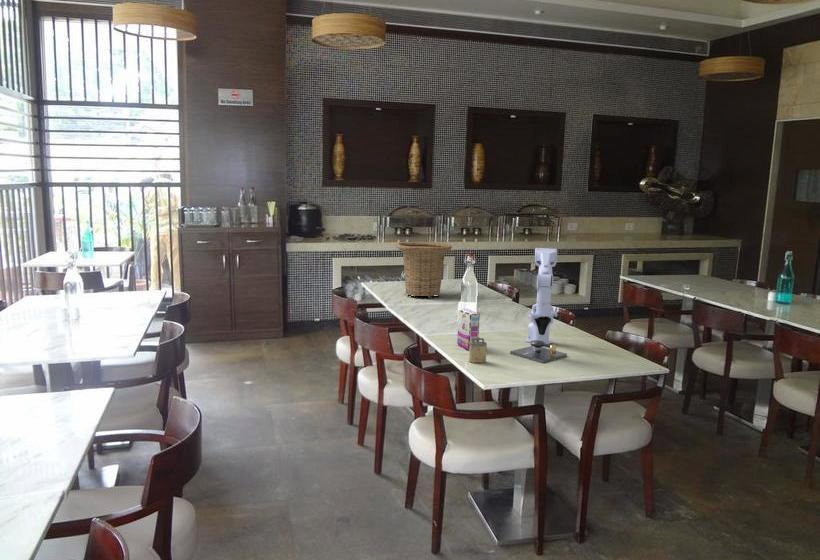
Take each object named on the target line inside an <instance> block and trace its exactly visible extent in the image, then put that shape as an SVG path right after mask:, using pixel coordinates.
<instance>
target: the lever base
mask: <svg viewBox="0 0 820 560" xmlns="http://www.w3.org/2000/svg"><path fill="white" fill-rule="evenodd" d="M509 352H510V353H509V354H510V355H512V354H513V355H512V356H516V355H517V356H516V357H519V356H520V358H524V359H526V358H527V359H526V360H531V361H534V362H538V363H541V364H544V363H547V362H551V361H555V359H556V360H558V359H562V358H565V357H566V358H567V357H568V354H567V353H566V352H562V351H560V350H559V351H558V350H556V354H550V348H548V347H534V346H531V345H530V346H526V347H522V348H518V349H513V350H510V351H509Z"/></svg>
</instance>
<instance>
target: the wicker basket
mask: <svg viewBox="0 0 820 560" xmlns="http://www.w3.org/2000/svg"><path fill="white" fill-rule="evenodd" d="M452 248H453V246H452V245H451V244H448V243H443V242H431V241H429V242H427V241H405V242H404V241H403V242H398V243H397V244H396V249H398V250H400V251H401V253H402V257H403V267H404V268H403V269H404V281H405V282H404V283H405V284H404V285H405V295H406V294H408V295H414V297H415V296H434V295H438V294H439V293H440V292H441V286H442V279H443V269H444V263H445V262H444V261H445V256H446V254H447V252H449V251H451V250H452ZM439 295H440V294H439Z"/></svg>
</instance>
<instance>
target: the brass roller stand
mask: <svg viewBox="0 0 820 560" xmlns="http://www.w3.org/2000/svg"><path fill="white" fill-rule="evenodd" d="M530 346H534V347H544V348H547V349H550V354H556V351H557V345H556V344H545V342H544V341H539V340H533V341H531V342H530Z"/></svg>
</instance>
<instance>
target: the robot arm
mask: <svg viewBox="0 0 820 560" xmlns="http://www.w3.org/2000/svg"><path fill="white" fill-rule="evenodd" d="M557 262H558V249H557V248H547V247H543V248H542V247H536V248H535V249H534V264H535V266H536V267H538V274H537V276H536V292H537V293H536V303H535V304H533V305H532V307H531V313H528V315H527V319H529V320H530V323H528V327H527V336H526V340H525V341H526V342H528V343H531V341H533V340H539V341H544V342H545V344H549V345H551V344H553V341H550V326H551V324H553V322H554V317H558V311H554V307H553V306H552V305H551V301H552V288H553V287H554V286H553V285H554V274H553V267H556V265H557Z"/></svg>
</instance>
